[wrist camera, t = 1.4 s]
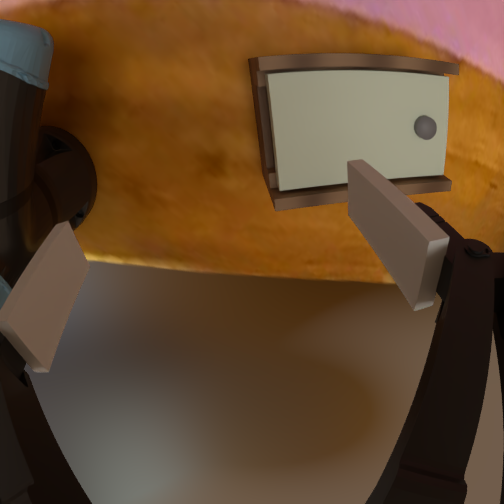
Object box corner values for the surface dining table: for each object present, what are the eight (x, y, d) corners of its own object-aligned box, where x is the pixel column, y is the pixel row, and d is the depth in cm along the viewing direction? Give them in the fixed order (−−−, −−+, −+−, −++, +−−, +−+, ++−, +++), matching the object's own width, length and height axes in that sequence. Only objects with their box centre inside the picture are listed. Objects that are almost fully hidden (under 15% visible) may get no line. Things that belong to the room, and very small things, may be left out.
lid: (276, 183, 31) (281, 194, 29) (264, 73, 25) (268, 74, 23) (434, 168, 32) (447, 177, 29) (438, 75, 25) (453, 78, 23)
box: (262, 174, 39) (275, 211, 30) (248, 58, 31) (258, 57, 22) (407, 160, 39) (450, 190, 30) (408, 57, 31) (458, 64, 22)
